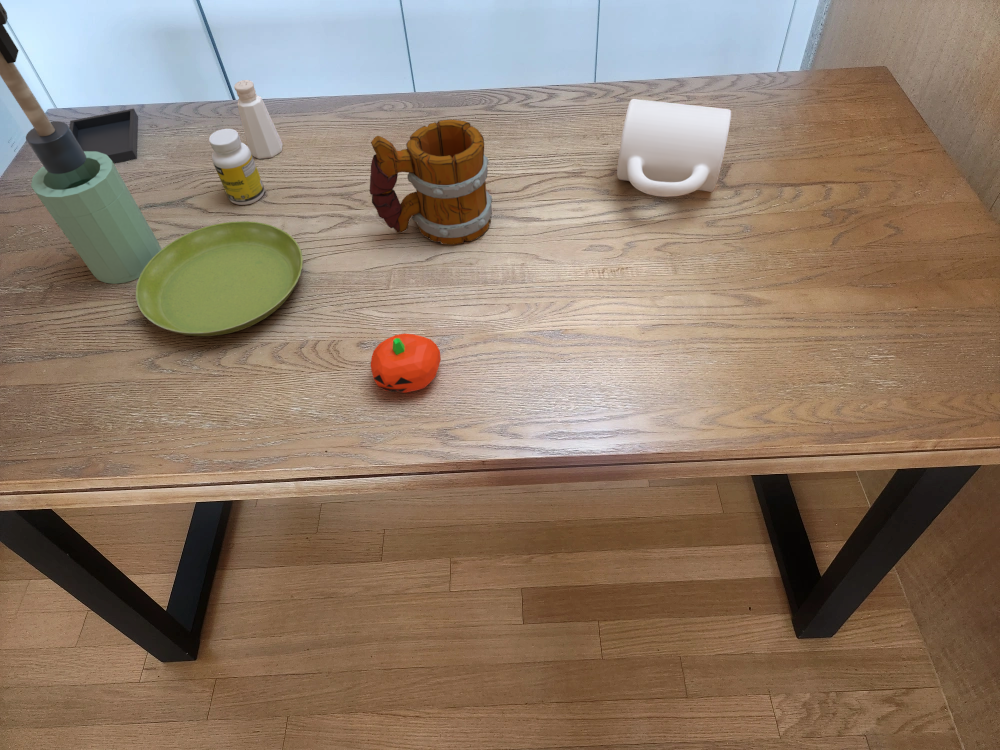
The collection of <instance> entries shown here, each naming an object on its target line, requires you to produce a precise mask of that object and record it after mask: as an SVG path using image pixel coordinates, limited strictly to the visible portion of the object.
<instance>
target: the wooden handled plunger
mask: <svg viewBox="0 0 1000 750" xmlns="http://www.w3.org/2000/svg"><path fill="white" fill-rule="evenodd" d="M0 78H1V79H2V81H3V83H4V84H5V85H6V87H7V88H8V90H9V92H10V94H11V95H12V96H13V98H14V99H15V102H16V103H17V104H18V105H19V108H21V110H22V112H23V114H24V115H25V116H26V118H27V119H28V121H29V123H30V124H31V126H32V127H33V128H31V129H30V130H29V131H28V132H27V133H26V135H25V140H26V143H28V145H29V146H30V148H31V149H32V151H33V152H34V154H35V155H36V157H37V158H38V160H39V161H40V163H41V164H42V167H43V166H44V167H45V169H46V170H47V171H48V172H50V173H52V174H63V173H67V172H71V171H73V170H75V169H77V168H79V167H80V166H82V165H83V164H84V163H85V161H86V155H85V153H84V151H83V150H82V148H81V146H80V145H79V143H78V141H77V140H76V138H75V136H74V135H73V133H72V131H71V130H70V128H69V127H70V125H68V124H67V123H66V122H63V121H57V120H56V121H51V120H50V119H49V117H48V115H47V114H46V112H45V111H44V109H43V107H42V106H41V104H40V103H39V101H38V99H37V98H36V97H35V95H34V93H33V91H32V90H31V89H30V87H29V85H28V83H27V81H26V80H25V79H24V77H23V75H22V74H21V72H20V71H19V69H18V67H17V65H16V63H15V62H14V63H7V62H6V60H5V59H4V57H3V55H2V54H1V52H0Z"/></svg>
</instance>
